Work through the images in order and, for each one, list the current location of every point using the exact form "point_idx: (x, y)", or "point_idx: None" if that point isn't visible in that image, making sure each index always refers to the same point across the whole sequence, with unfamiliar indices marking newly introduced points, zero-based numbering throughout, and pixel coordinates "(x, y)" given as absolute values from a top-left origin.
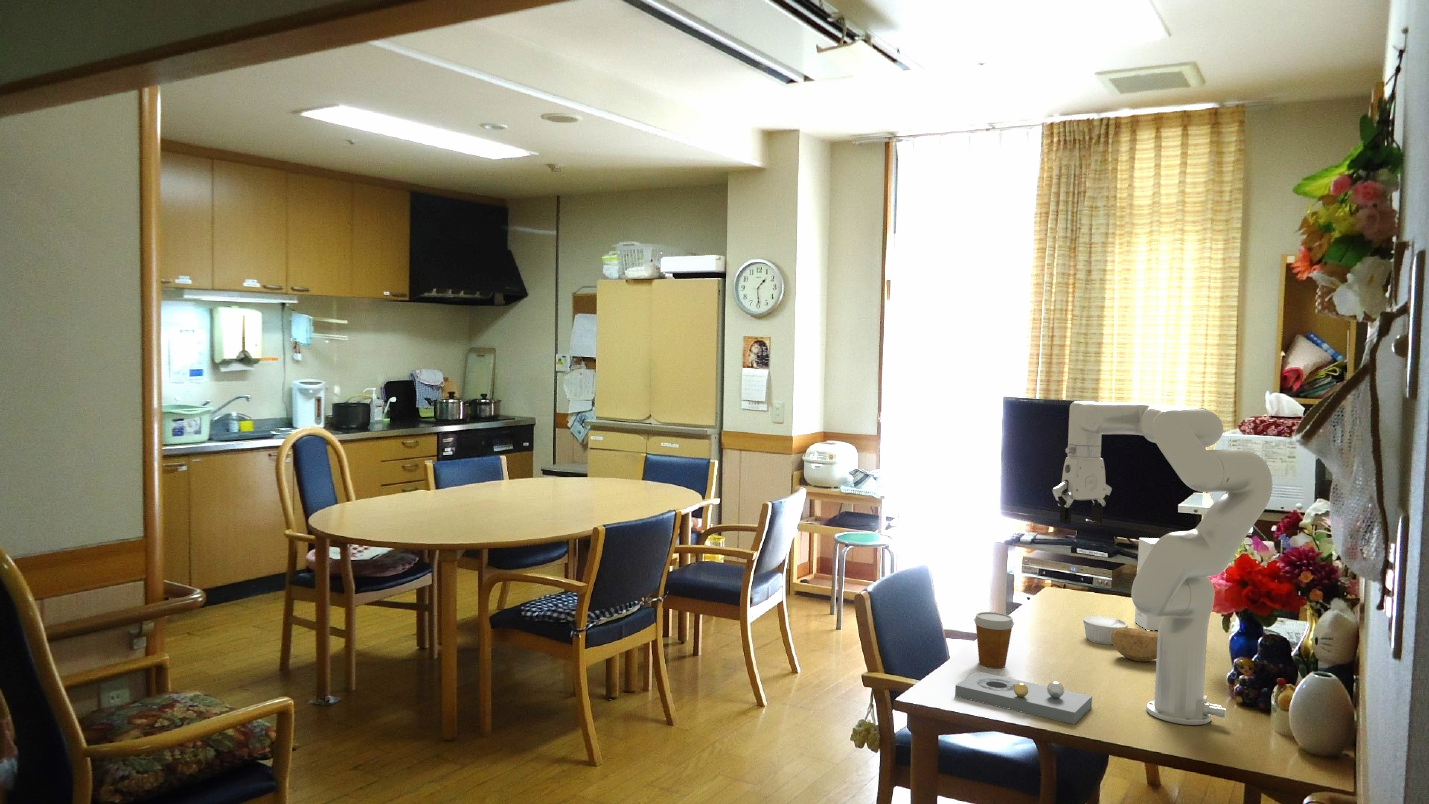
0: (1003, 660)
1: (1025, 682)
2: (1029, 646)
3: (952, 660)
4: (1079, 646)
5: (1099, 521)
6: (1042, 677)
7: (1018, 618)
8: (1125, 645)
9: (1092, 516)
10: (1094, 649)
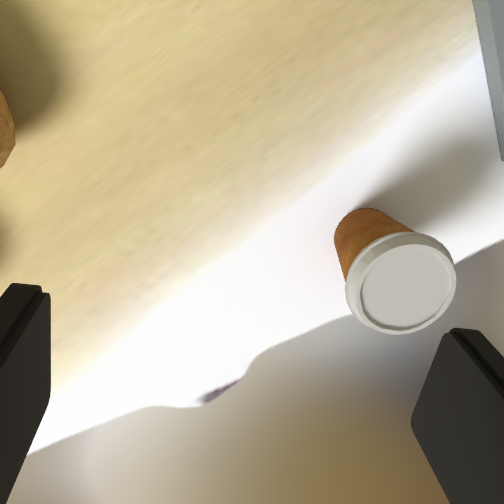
0: (369, 212)
1: (502, 44)
2: (166, 297)
3: None
4: (38, 250)
5: (47, 295)
6: (341, 112)
7: None
8: (4, 105)
9: (35, 415)
10: (16, 216)
